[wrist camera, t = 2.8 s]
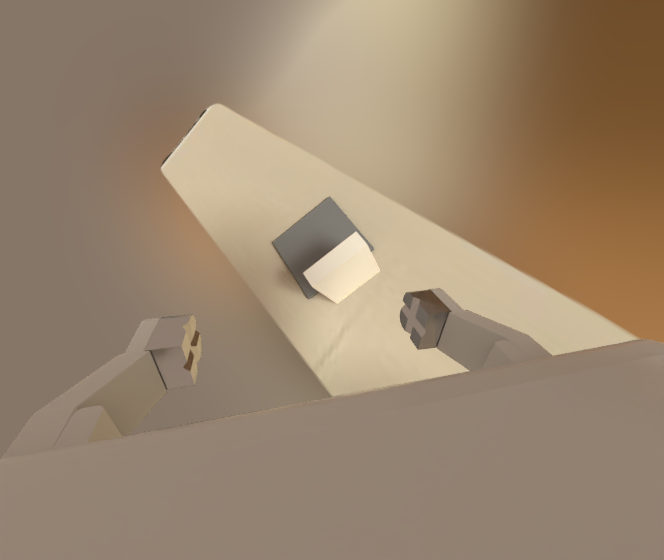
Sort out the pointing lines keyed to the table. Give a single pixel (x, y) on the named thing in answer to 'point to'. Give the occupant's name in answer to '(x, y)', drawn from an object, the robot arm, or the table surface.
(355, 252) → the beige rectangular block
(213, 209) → the table surface
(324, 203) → the charcoal mat
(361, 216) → the table surface
